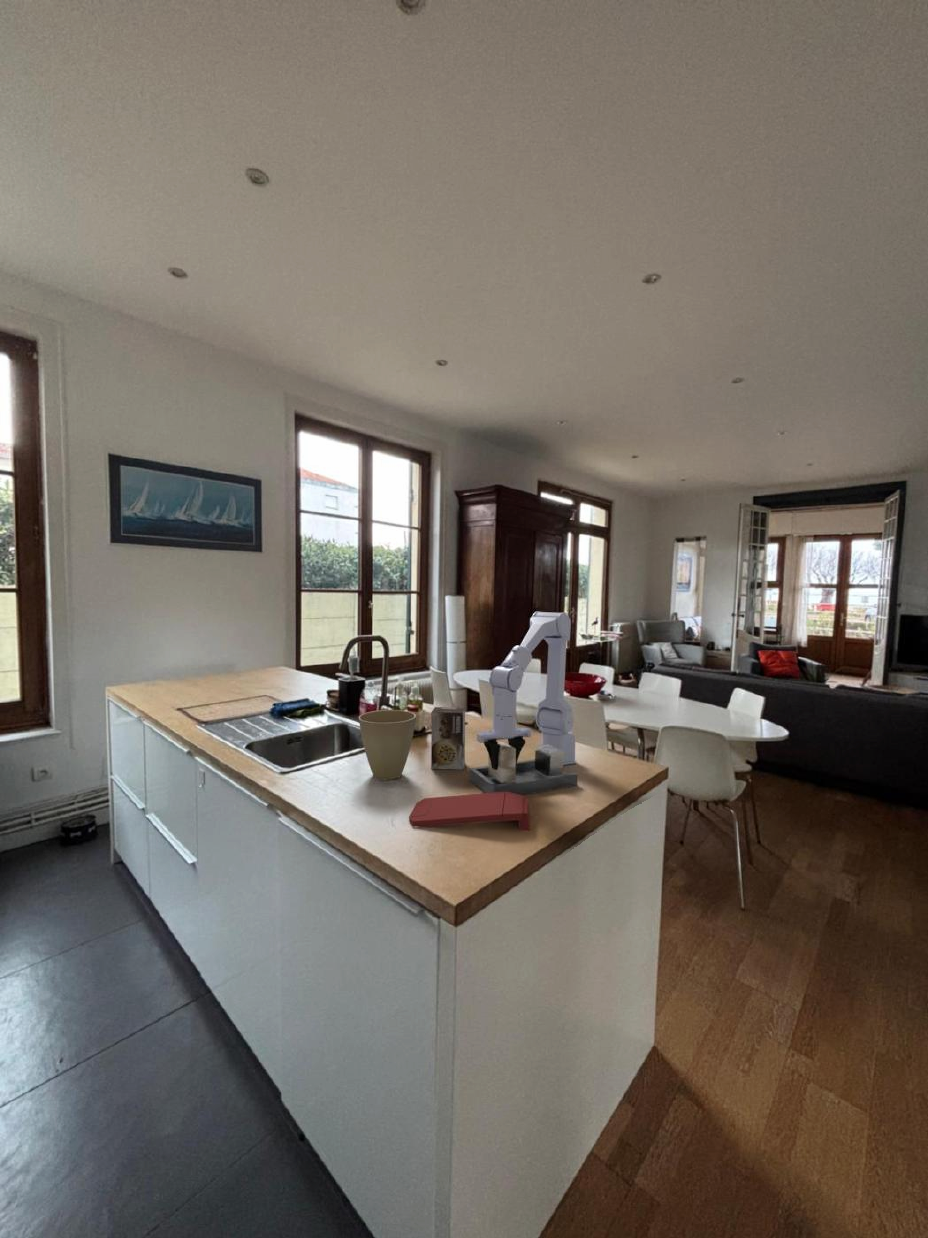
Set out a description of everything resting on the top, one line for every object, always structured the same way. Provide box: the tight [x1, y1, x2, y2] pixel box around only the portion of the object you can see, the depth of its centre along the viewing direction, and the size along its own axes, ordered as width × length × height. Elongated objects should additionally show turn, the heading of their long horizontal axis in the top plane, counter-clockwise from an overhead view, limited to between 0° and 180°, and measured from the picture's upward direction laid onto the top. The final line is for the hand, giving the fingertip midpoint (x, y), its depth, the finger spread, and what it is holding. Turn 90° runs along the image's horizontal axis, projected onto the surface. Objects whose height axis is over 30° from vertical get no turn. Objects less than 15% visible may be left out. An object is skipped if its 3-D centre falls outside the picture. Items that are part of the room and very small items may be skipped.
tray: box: [468, 744, 579, 796], centre depth 130 cm, size 24×14×8 cm, turn 114°
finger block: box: [488, 741, 516, 783], centre depth 128 cm, size 5×7×8 cm, turn 24°
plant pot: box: [358, 709, 417, 781], centre depth 133 cm, size 15×15×16 cm
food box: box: [430, 706, 466, 771], centre depth 141 cm, size 9×6×16 cm
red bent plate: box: [408, 791, 531, 832], centre depth 109 cm, size 12×5×25 cm
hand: (503, 767), depth 127 cm, fingers closed on finger block, 5 cm apart
